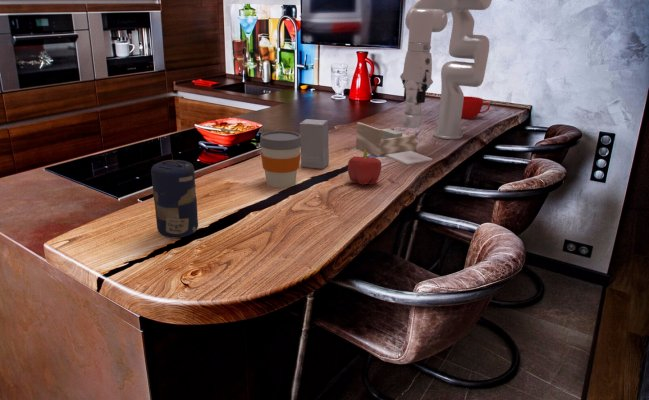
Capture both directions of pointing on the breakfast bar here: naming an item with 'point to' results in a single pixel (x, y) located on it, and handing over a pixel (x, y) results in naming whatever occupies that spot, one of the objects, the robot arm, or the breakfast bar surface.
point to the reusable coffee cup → (280, 157)
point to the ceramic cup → (472, 107)
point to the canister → (175, 198)
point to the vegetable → (364, 169)
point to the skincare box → (314, 143)
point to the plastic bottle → (412, 106)
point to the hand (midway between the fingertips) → (413, 100)
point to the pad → (408, 157)
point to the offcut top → (391, 133)
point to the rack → (382, 141)
